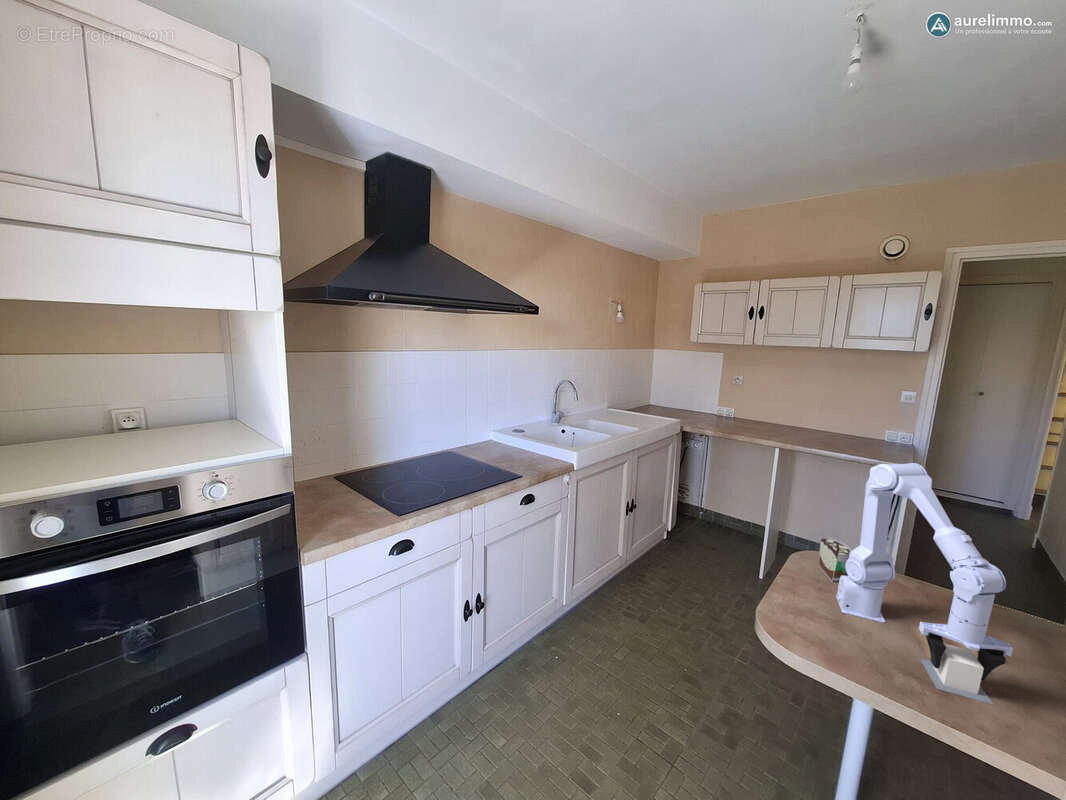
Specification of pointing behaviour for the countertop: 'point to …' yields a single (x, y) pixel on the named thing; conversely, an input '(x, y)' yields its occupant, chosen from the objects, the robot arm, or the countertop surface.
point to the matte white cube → (960, 669)
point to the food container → (833, 557)
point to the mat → (939, 685)
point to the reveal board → (925, 647)
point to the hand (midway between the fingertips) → (956, 670)
